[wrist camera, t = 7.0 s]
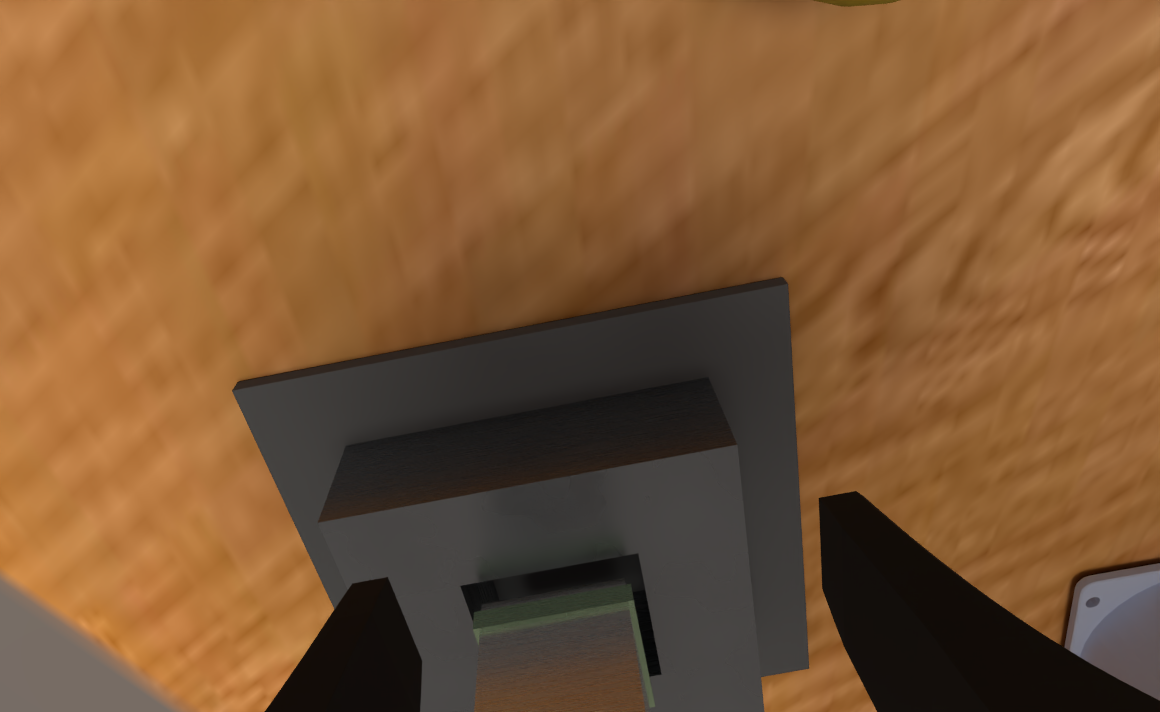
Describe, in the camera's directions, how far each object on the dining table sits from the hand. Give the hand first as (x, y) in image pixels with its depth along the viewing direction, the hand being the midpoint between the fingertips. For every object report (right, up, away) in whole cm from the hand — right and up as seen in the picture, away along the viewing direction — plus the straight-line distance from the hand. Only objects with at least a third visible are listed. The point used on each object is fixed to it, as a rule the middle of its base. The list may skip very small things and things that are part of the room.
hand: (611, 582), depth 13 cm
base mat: (-1, -2, +13) cm, 13 cm away
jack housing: (-1, -2, +13) cm, 13 cm away
